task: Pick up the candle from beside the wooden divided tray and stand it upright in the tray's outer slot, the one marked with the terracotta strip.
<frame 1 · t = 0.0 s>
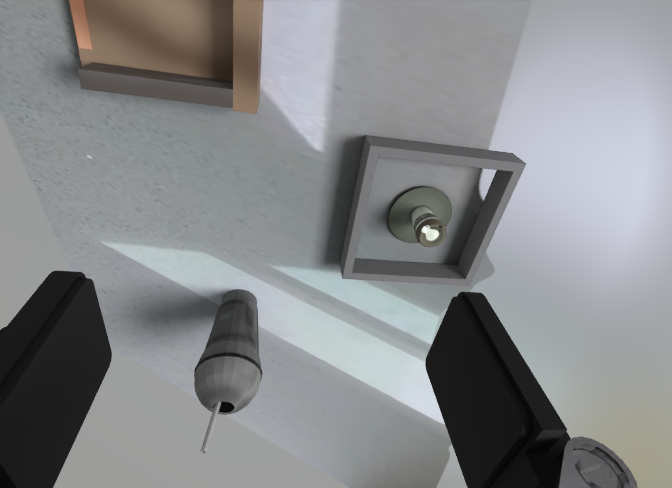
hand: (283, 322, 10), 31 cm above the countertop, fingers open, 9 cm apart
coffee cup: (419, 212, 46), resting in grey shallow square tray
grey shallow square tray: (419, 212, 46), on the countertop
beverage cup: (240, 301, 51), on the countertop
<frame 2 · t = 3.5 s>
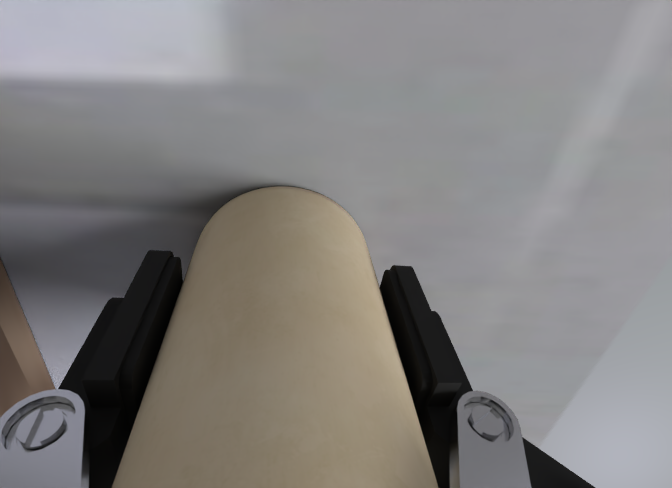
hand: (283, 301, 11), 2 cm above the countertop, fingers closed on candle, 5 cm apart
candle: (284, 255, 13), on the countertop, touching gripper
when the fingers open (4 cm above the countertop, at t = 9.1 s): candle drops 1 cm, resting on wooden divided tray.
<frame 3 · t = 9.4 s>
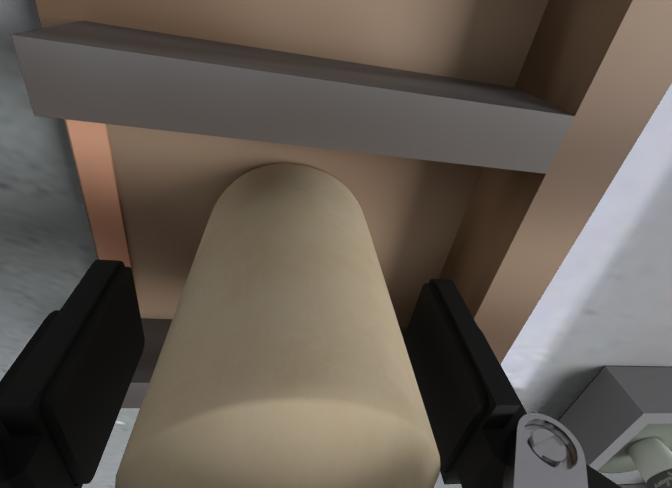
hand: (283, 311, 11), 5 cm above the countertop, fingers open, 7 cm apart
wooden divided tray: (330, 80, 12), on the countertop
candle: (289, 229, 14), point 1 cm above the countertop, touching wooden divided tray
coffee cup: (640, 440, 29), resting in grey shallow square tray
grey shallow square tray: (640, 440, 29), on the countertop
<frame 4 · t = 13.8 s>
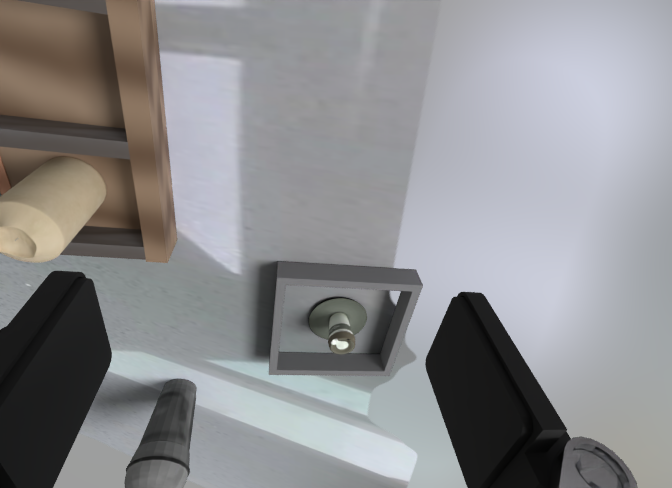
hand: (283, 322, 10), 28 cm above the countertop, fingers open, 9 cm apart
wooden divided tray: (77, 127, 34), on the countertop
candle: (76, 182, 36), point 1 cm above the countertop, touching wooden divided tray
coffee cup: (338, 316, 50), resting in grey shallow square tray
grey shallow square tray: (338, 315, 50), on the countertop
beverage cup: (180, 387, 56), on the countertop
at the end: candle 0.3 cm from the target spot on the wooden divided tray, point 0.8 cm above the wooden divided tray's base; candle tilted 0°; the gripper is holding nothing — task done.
